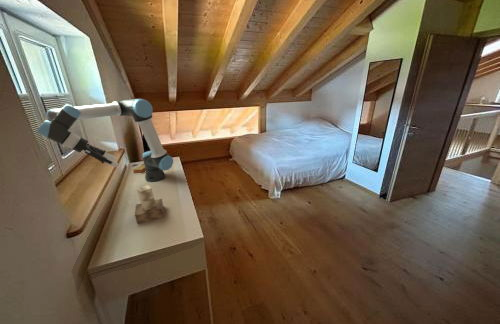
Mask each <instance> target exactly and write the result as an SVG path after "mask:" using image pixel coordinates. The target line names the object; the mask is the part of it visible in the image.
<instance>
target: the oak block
mask: <svg viewBox="0 0 500 324" xmlns="http://www.w3.org/2000/svg"><path fill="white" fill-rule="evenodd" d="M136 191H137V195H138V198H139V201H140V204H141V206H142V207H143V209H144V210H145V211H146V210H148V209H151V208H153V207H156V204H155V200H156V199H155V197H154V192H153V188H152V187H151V186H150V185H149V184H145V185H142V186H141V187H137V188H136Z"/></svg>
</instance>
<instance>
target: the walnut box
mask: <svg viewBox="0 0 500 324" xmlns="http://www.w3.org/2000/svg"><path fill="white" fill-rule="evenodd" d="M154 200H155V204H156V207H153V208H151V209H148V210H146V211H145V210H144V209H143V207H142V206H141V203H137V204H135V211H134V217H135V221H136V224H143V223H146V222H151V221H154V220H157V219H162V218H165V211H164V210H165V209H164V203H163V198H159V199H154Z"/></svg>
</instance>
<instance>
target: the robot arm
mask: <svg viewBox="0 0 500 324" xmlns="http://www.w3.org/2000/svg"><path fill="white" fill-rule="evenodd" d="M153 110H154V109H153V106H152V104H151V103H150V102H149V101H148V100H147V99H143V98H126V99H123V100H118V101H117V100H116V101H115V100H114V101H112V102H111V103H103V104H101V103H100V104H92V105H79V106H74V105H73V106H72V105H71V104H68V103H66V104H64V105H63V106H62V107H59V108H55V107H53V108H50V109H48V110H47V111H46V118H47V119H48V120H47V119H46V120H44V121H43V122H42V123H41V124H40V126H39V127H38V128H37V130H36V132H37V133H38V134H39V135H41V136H43V137H45V138H46V139H49V140H51V141H54V142H55V143H58V144H60V145H62V146H63V147H64V148H66V147H67V148H68V149H72V150H73V151H75V152H77V153H81V152H82V151H84V154H87V155H88V156H90V157H92V158H94V159H96V160H97V161H99V162H101V164H107V165H110V166H112V167H113V168H116V169H117V167H118V166H119V164H120V163H119V162H116V159H117V157H116V156H114V155H112V154H110V153H109V152H107V150H105V149H104V150H103V149H101V148H98V147H96V146H94V145H91V144H89V140H87V139H85V138H83V137H80V135H77V134H76V133H73V132H71V131H69V130H70V129H71V127H72V126H73V125H74V124H75V123H76V121H81V120H88V119H89V120H90V119H94V118H95V119H96V118H104V117H111V116H117V117H121V116H122V117H132V119H133V121H134V122H135V123H137V124H138V125H139V127H140V130H141V133H142V134H143V137H144V139H145V141H146V143H147V147H148V148H149V150H147V151H145V152H143V153H142V154H141V155H142V160H143V164H144V165H145V169H146V172H145V173H144V175H145V176H144V179H145V181H146V182H148V183H153V182H159V181H162V180H163V179H165V177H166V173H165V172H164V171H169V170H170V169H172V167H173V164H174V158H173V157H172V156H171V155H169V154H168V151H167V150H166V149H164V147H163V144H162V142H161V139H160V137H159V135H158V132H157V129H156V127H155V126H154V123H153V120H152V119H153Z"/></svg>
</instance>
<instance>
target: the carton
mask: <svg viewBox="0 0 500 324" xmlns="http://www.w3.org/2000/svg"><path fill="white" fill-rule="evenodd" d="M145 171H146V169H145V165H144V163H142V164H140V165H139V166H136V168H134V169H133V170H132V172H133V174H134V173H143V174H145V173H146V172H145Z"/></svg>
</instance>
